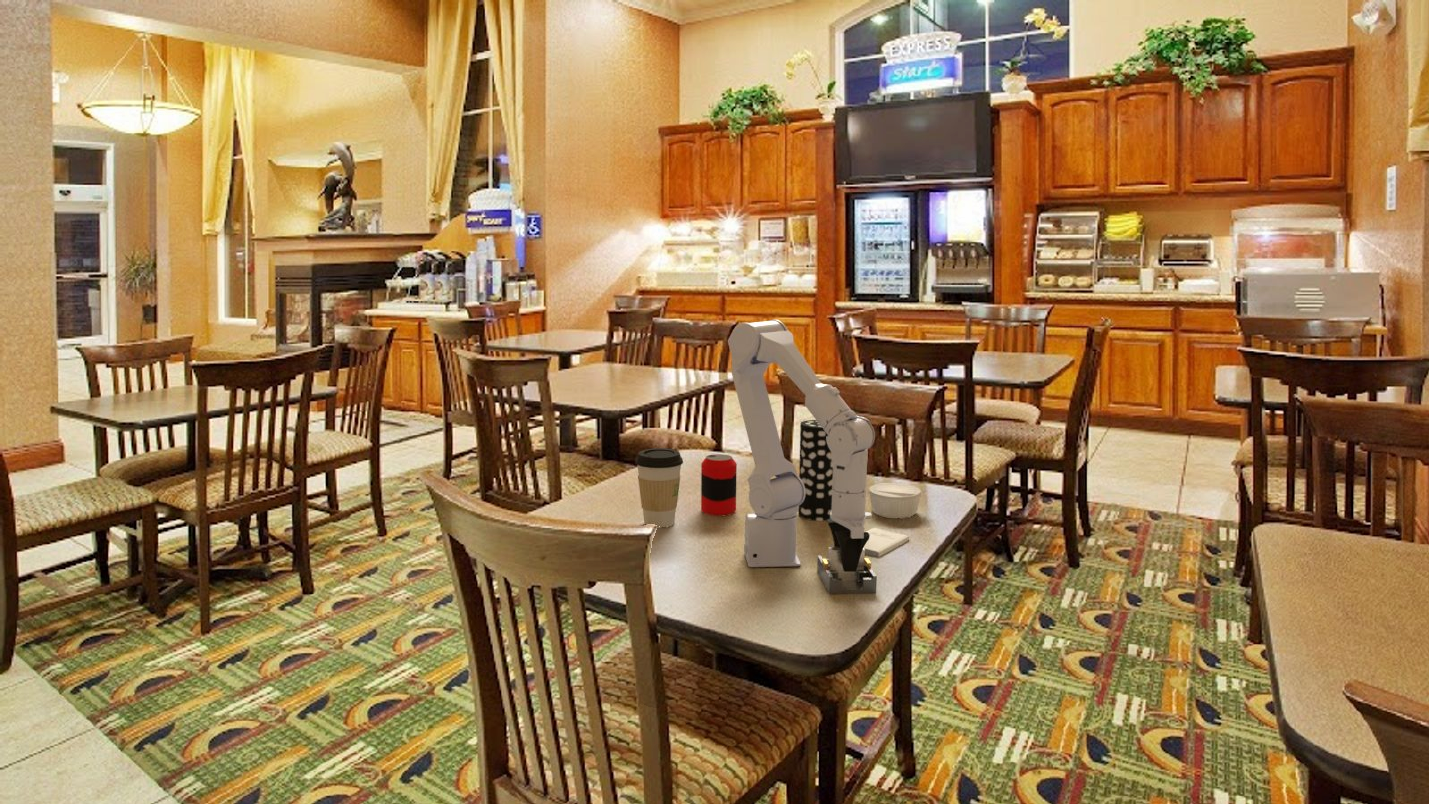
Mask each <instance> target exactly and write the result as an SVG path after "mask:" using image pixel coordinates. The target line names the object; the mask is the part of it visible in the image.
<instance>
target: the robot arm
mask: <svg viewBox="0 0 1429 804" xmlns="http://www.w3.org/2000/svg"><path fill="white" fill-rule="evenodd" d="M794 340H795V339H794V334H793V333H792V332H791V331H790V330H788V328H787V326H786V325H785V323H783V322H782V321H780V320H779V319H770V320H765V321H757V322H756V321H755V322H746V321H745V322H740V323H738V324H737V325H736V326H735V327H734V329H732V332H731V334H730V336H729V337H728V340H727V344H728V347H729V352H730V355H731V375H732V380H733V384H734V388H735V392H736V395H737V399H738V404H739V406H740V411H741V416H742V419H743V422H744V426H745V431H746V435H747V438H748V443H749V446H750V450H751V453H752V458H753V461H754V467H753V468H752V470H751V472H750V474H749V475H748V477H747V482H748V486H749V487H748V489H749V491H748V501H749V505H750V507H751V509H752V510H753V513H747V514H746V515H745V519H744V544H743V554H744V556H745V561H746V562H747V565H748V567H749V568H766V567H769V568H771V567H774V568H775V567H776V568H777V567H778V568H780V567H800V566H801V561H800V559H799V557H798V555H797V551H796V550H797V516H798V511H799V505H800V504H802V502H803V501H804V499H805V495H806V491H805V486H804V483H803V482H802V480H801V479H800V477H799V473H798V472H797V471H798V470H797V467H796V465H794V464H793V463H792V462H791V461H789V459H786V458H785V456H784V450H783V446H782V443H781V440H780V436H779V432H778V427H777V423H776V419H775V416H774V412H773V409H772V404H771V402H770V397H769V392H768V390H767V385H766V381H765V378H764V374H765V373H766V371H767V370H768V368H769V366H770V365H771V364H774V365H775V364H776V365H777V366H779V368H780V369H781V370H782V372H784V373H785V374H786V376H787V377H789V379H790V380H791V382H793V383H794V384H795V385H796V386H797V388H798V389H799V390H800V391H801V392H802V393H803V395H805V397H804V399H805V400H804V406H805V408H806V409H807V410H808V411H809V412H810V414H811V415H812V417H814V420H817V422H818V423H819V424H820V425H821V427H822V428H823V429H824V430H825V432H826V433H827V434H828V436H826V441H827V445H828V447H829V449H830V451H831V454H832V461H833V480H832V510H831V513H830V518H831V519H827V520H826V522H827V525H828V527H829V529H830V532H831V536H832V539H833V547H840V550H841V559H842V566H843V570H844V571H845V572H853V571H856V570H857V567H858V563H859V560H860V556H861V553H862V550H863V548H864V546H865V544H866V542H867V541H868V540H869V537H870V535H869V533H868V532H866V531H865V524H866V520H872V518H873V514H872V513H871V512H869V511H866V502H867V499H866V498H867V480H868V479H867V476H868V475H867V473H868V453H869V452H868V450H869V449H870V448H871V447H872V446H873V444H874V442H875V439H876V433H875V429H874V426H873V425H872V423H871V422H870V420H869V419H868V418H866V417H864V416H859V415H857V413H856V412H855V410H852V409H851V408H850V407H849V405H848V404H847V403H846V402H845V400H844V399H843V398H842V397H841V395H840V393H841V391H840V390H839V389H838V388H837V387H835V386H834V387H833V386H832V385H831V384H829V383H828V384H827V383H826V384H825V383H822V382H821V381H820V379H819V378H818V376H817V375H816V374H815V372H814V371H813V369H812V367H811V366H810V365H809V363H808V362H807V361H806V359H805V357H804V356H803V354H802V353H801V352H800V350H799V349H798V348H797V346H796V345H795V342H794ZM773 477H774V478H773Z"/></svg>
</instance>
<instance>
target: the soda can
mask: <svg viewBox="0 0 1429 804" xmlns="http://www.w3.org/2000/svg"><path fill="white" fill-rule="evenodd" d="M700 464H701V465H700V466H701V473H700V475H701V477H700V478H701V479H700V480H701V481H700V482H701V485H700V486H701V487H700V491H701V492H700V495H701V496H700V499H701V501H700V506H701V507H700V510H701V511H702V513H703V512H704V513H703V514H705V513H706V515H708V514H709V515H708V516H713V515H716V516H715V517H723V515H725V516H730V515H733V514H735V512H736V511H737V472H738V471H737V469H738V468H737V462H736V460H735V459H734V458H733V457H732V455H728V454H722V453H721V454H720V453H718V454H717V453H716V454H715V453H714V454H709V455H706V456H705V457H704V459H703V461H702V462H701V463H700ZM732 513H733V514H732ZM729 514H730V515H729Z"/></svg>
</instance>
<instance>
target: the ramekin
mask: <svg viewBox="0 0 1429 804" xmlns="http://www.w3.org/2000/svg"><path fill="white" fill-rule="evenodd" d="M868 494H869V499H870V506H871V511H872V512H873V514H876V515H877V516H880V517H883V518H887V519H897V518H900V519H906V518H905V517H909V518H911V517H910V516H912V517H914V516H915V515H914V514H917V511H918V510H919V509H918V508H919V504H920V498H921V496H922V490H921V489H920V488H918V487H917V486H914V485H912V484H905V483H898V482H881V483H875V484H873V485H871V486H870V487H869V488H868ZM913 515H914V516H913Z"/></svg>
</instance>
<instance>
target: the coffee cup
mask: <svg viewBox="0 0 1429 804" xmlns="http://www.w3.org/2000/svg"><path fill="white" fill-rule="evenodd" d="M634 463H635V465H637V471H638V475H637V479H638V486H639V487H638V489H639V495H640V496H639V497H640V502H641V503H640V504H641V509H642V512H643V513H642V515H643V521H644V523H645V524H655V525H657V527H659V526H660V527H666V528H668V527H667V526H670V527H672V526H671V525H673V524H674V525H675V519H676V512H677V508H678V499H679V492H680V481H681V467H682V465H683V464H684V461H683V457H682V455H681V452H680V451H679V450H677V449H673V448H664V447H663V448H662V447H661V448H658V447H655V448H647V449H642V450H640V451H639V452H638V453H637V457H636V458H635V462H634ZM645 524H644V525H645ZM674 525H673V526H674Z"/></svg>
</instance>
